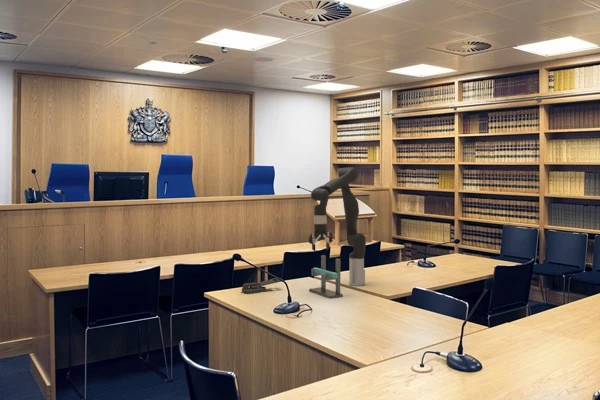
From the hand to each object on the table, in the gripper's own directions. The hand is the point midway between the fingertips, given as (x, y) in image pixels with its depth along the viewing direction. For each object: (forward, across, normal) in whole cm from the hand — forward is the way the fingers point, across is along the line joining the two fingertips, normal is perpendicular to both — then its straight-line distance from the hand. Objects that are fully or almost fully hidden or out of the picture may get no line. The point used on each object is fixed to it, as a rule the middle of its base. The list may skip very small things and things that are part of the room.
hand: (320, 250), depth 313 cm
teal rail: (+14, -2, +1) cm, 15 cm away
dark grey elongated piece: (+26, +30, -20) cm, 45 cm away
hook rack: (+26, -2, +1) cm, 26 cm away
